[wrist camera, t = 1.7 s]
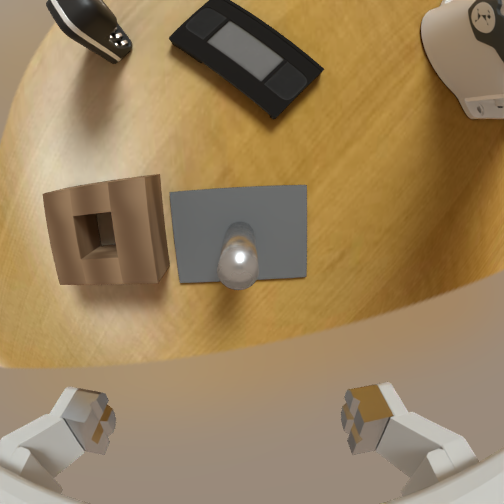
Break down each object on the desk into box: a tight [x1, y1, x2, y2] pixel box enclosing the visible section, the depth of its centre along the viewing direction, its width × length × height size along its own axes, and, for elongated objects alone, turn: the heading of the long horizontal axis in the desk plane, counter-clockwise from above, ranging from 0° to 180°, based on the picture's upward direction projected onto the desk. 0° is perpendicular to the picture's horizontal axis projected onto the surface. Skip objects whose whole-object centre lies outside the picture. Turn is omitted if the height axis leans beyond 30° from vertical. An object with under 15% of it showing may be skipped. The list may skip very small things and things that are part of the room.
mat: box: [170, 185, 307, 283], centre depth 31 cm, size 14×10×1 cm
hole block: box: [43, 174, 170, 285], centre depth 28 cm, size 12×10×5 cm
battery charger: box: [46, 0, 132, 64], centre depth 19 cm, size 7×4×11 cm, turn 34°
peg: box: [217, 222, 259, 290], centre depth 26 cm, size 3×3×10 cm
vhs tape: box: [169, 0, 324, 119], centre depth 25 cm, size 8×14×2 cm, turn 49°
